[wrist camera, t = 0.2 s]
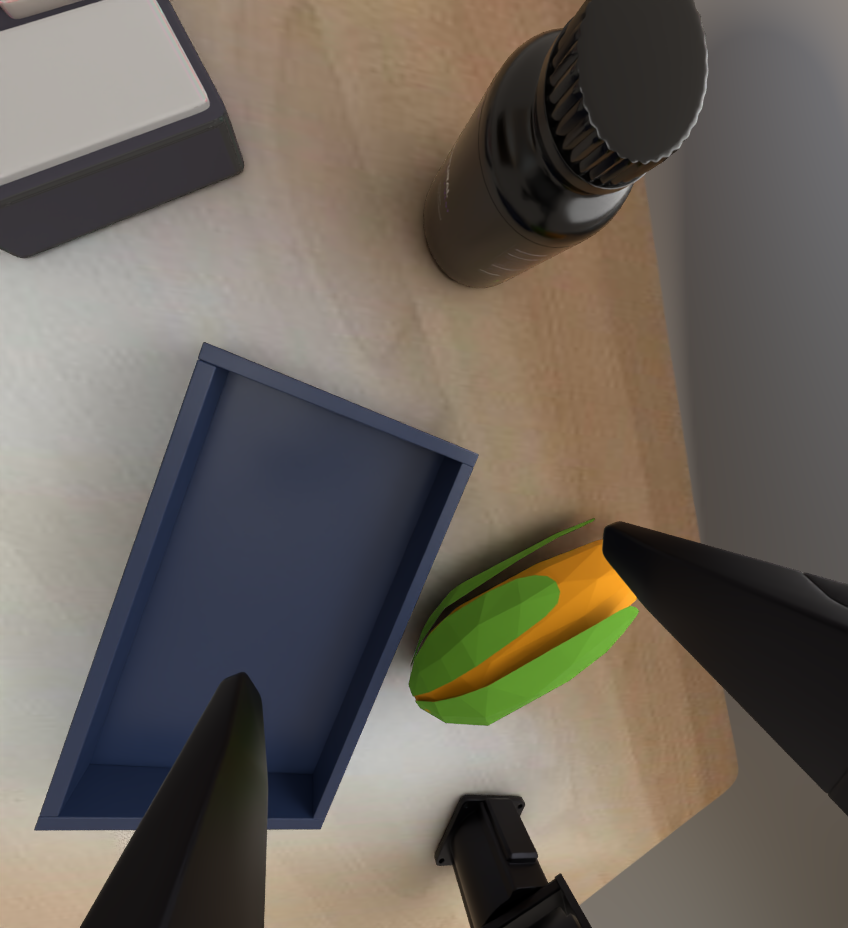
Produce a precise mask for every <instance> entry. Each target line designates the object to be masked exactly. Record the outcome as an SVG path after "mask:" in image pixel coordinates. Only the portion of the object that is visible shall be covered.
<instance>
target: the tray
mask: <svg viewBox="0 0 848 928" xmlns="http://www.w3.org/2000/svg"><path fill="white" fill-rule="evenodd" d="M198 359H199V360H197V363H196V365H195V368H194V371H193V374H192V377H191V380H190V383H189V386H188V389H187V391H186V394H185V397H184V400H183V403H182V406H181V409H180V412H179V414H178V417H177V420H176V423H175V426H174V429H173V432H172V435H171V438H170V440H169V443H168V446H167V449H166V452H165V455H164V458H163V461H162V464H161V466H160V469H159V472H158V475H157V478H156V481H155V484H154V487H153V489H152V492H151V495H150V498H149V501H148V504H147V507H146V510H145V513H144V515H143V518H142V521H141V524H140V527H139V530H138V533H137V536H136V538H135V541H134V544H133V547H132V550H131V553H130V556H129V559H128V562H127V564H126V567H125V570H124V573H123V576H122V579H121V582H120V585H119V587H118V590H117V593H116V596H115V599H114V602H113V605H112V608H111V611H110V613H109V616H108V619H107V622H106V625H105V628H104V631H103V634H102V636H101V639H100V642H99V645H98V648H97V651H96V654H95V657H94V660H93V662H92V665H91V668H90V671H89V674H88V677H87V680H86V683H85V685H84V688H83V691H82V694H81V697H80V700H79V703H78V706H77V709H76V711H75V714H74V717H73V720H72V723H71V726H70V729H69V732H68V735H67V737H66V740H65V743H64V746H63V749H62V752H61V755H60V758H59V760H58V763H57V766H56V769H55V772H54V775H53V778H52V781H51V784H50V786H49V789H48V792H47V795H46V798H45V801H44V804H43V807H42V809H41V812H40V816H39V818H38V820H37V823H36V826H35V829H34V830H136V829H137V827H138V825H139V824H140V822H141V820H142V818H143V817H144V815H145V813H146V811H147V810H148V808H149V806H150V805H151V803H152V801H153V799H154V798H155V796H156V794H157V792H158V791H159V789H160V787H161V785H162V784H163V782H164V780H165V778H166V777H167V775H168V773H169V771H170V770H171V768H172V766H173V765H174V763H175V761H176V759H177V758H178V756H179V754H180V752H181V751H182V749H183V747H184V745H185V744H186V742H187V740H188V738H189V737H190V735H191V733H192V731H193V730H194V728H195V726H196V724H197V723H198V721H199V719H200V718H201V716H202V714H203V712H204V711H205V709H206V707H207V705H208V704H209V702H210V700H211V698H212V697H213V695H214V693H215V691H216V690H217V688H218V686H219V684H220V683H221V682H222V681H223V680H224V679H225V678H227V677H230V676H232V675H235V674H237V673H240V672H245V673H246V674H247V675H248V676H249V678H250V679H251V681H252V682H253V684H254V685H255V687H256V689H257V690H258V692H259V694H260V696H261V699H262V706H263V720H264V734H265V748H266V762H267V777H268V814H267V830H279V829H321V827H322V825H323V822H324V820H325V817H326V815H327V813H328V810H329V808H330V806H331V803H332V801H333V799H334V796H335V794H336V791H337V789H338V787H339V784H340V782H341V780H342V777H343V775H344V773H345V770H346V768H347V765H348V763H349V761H350V758H351V756H352V754H353V751H354V749H355V747H356V744H357V742H358V739H359V737H360V735H361V732H362V730H363V728H364V725H365V723H366V721H367V718H368V716H369V713H370V711H371V709H372V706H373V704H374V702H375V699H376V697H377V695H378V692H379V690H380V687H381V685H382V683H383V680H384V678H385V676H386V673H387V671H388V669H389V666H390V664H391V661H392V659H393V657H394V654H395V652H396V650H397V647H398V645H399V643H400V640H401V638H402V635H403V633H404V631H405V628H406V626H407V624H408V621H409V619H410V616H411V614H412V612H413V609H414V607H415V605H416V602H417V600H418V598H419V595H420V593H421V590H422V588H423V586H424V583H425V581H426V579H427V576H428V574H429V572H430V569H431V567H432V564H433V562H434V560H435V557H436V555H437V553H438V550H439V548H440V546H441V543H442V541H443V538H444V536H445V534H446V531H447V529H448V527H449V524H450V522H451V520H452V517H453V515H454V512H455V510H456V508H457V505H458V503H459V501H460V498H461V496H462V494H463V491H464V489H465V486H466V484H467V482H468V479H469V477H470V475H471V472H472V470H473V467H474V465H475V463H476V460H477V458H478V456H479V455H478V454H476V453H474V452H471V451H469V450H467V449H464V448H462V447H459V446H457V445H455V444H452V443H450V442H447V441H445V440H442V439H440V438H437V437H435V436H433V435H430V434H428V433H425V432H423V431H420V430H418V429H416V428H413V427H411V426H408V425H406V424H403V423H401V422H398V421H396V420H394V419H391V418H389V417H386V416H384V415H381V414H379V413H377V412H374V411H372V410H369V409H367V408H364V407H362V406H359V405H357V404H355V403H352V402H350V401H347V400H345V399H342V398H340V397H338V396H335V395H333V394H330V393H328V392H325V391H323V390H320V389H318V388H316V387H313V386H311V385H308V384H306V383H303V382H301V381H299V380H296V379H294V378H291V377H289V376H286V375H284V374H281V373H279V372H277V371H274V370H272V369H269V368H267V367H264V366H262V365H260V364H257V363H255V362H252V361H250V360H247V359H245V358H242V357H240V356H238V355H235V354H233V353H230V352H228V351H225V350H223V349H221V348H218V347H216V346H213V345H211V344H208V343H206V342H204V343H203V345H202V348H201V351H200V353H199V356H198Z"/></svg>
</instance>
